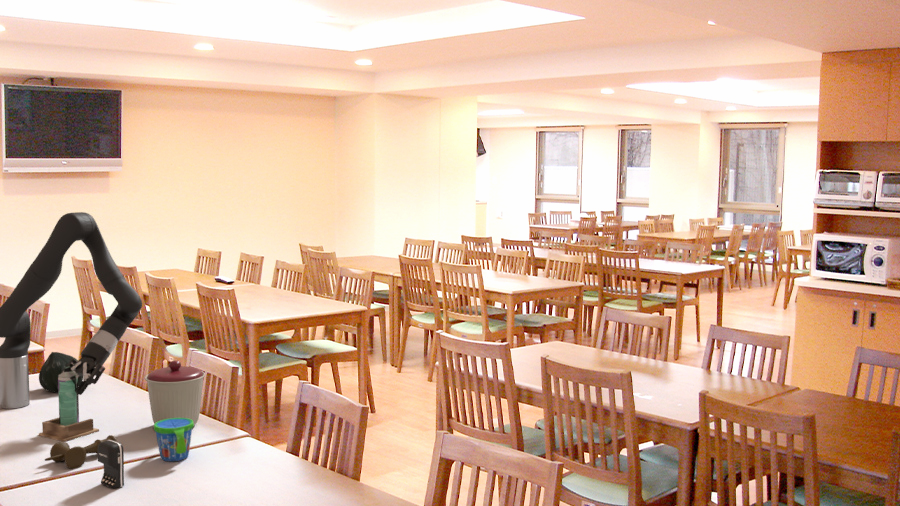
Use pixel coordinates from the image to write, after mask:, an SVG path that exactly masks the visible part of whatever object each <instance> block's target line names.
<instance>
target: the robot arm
mask: <svg viewBox="0 0 900 506" xmlns="http://www.w3.org/2000/svg"><path fill="white" fill-rule="evenodd" d="M79 241H81V242H82V243H83V244H84V245H85V246H86V248H87V249H88V252H89V253H90V256H91V259H92V265H93V269H94V273H95V275H96V277H97V279H98V281H99V283H100V284H101V285H102V287H103V289H104V290H105V292H106V293H108V295H110V296H112V297H113V298H114V300H115V301H116V302H117V304H116V306H115V308H114V310H112V313H111V314H110V316H109V317H108V318H106V320H105V321H104V322H103V323H102V325H101V326H100V328H99V329H98V330H97V331H96V333H94V334H93V336H92V337H91V339H90V340H89V341H88V342H87V344H86V345H85V347H84V348H83V349H82V351H81V352H80V356H81V358H79V360H78V361H76V360H75V359H74V358H75V357H74V358H73V359H71V361H70V362H69V363H68V364H67V366H70V367H71V369H72V370H73V372H75V373H77V374H78V375H77V376H78V377H79V376H83V381H82V382H81V383H80V385H79V386H78V387H77V389H76V390H75V392H76V393H77V394H78V396H81V395H83V393H84V392H85V391H86V390H87V388H88V387H89V386H91V385H92V384H93V385H95V384H97V382H99V379H100V378H101V376H102V375H103V373H104V371H105V370H106V367H105V366H104V364H105V363H106V361H107V360H108V358H109V357H110V356H111V354H112V352H113V351H114V350H115V348H116V347H117V344H118V343H119V341H120V340H121V339H122V337H123V336H124V334H125V333H126V330H127V328H129V326H130V325H132V323H133V322H134V321H135V319H136V318H137V316H138V315H139V313H140V311H141V310H142V308H143V300H142V298H141V296H140V295H139V293H138V292H137V291H136V290H135V288H133V286H132V285H131V284H130V283H129V282H128V281H127V280H126V278H125V276H124V275H123V273H122V272H121V270H120V268H119V267H118V265H117V264H116V261H114V259H113V257H112V255H111V253H110V250H109V248H108V246H107V244H106V242H105V240H104V237H103V235H102V232H101V230H100V227H99V225H98V224H97V222H96V219H94V217H93V216H92V215H91V214H90V213H88V212H84V211H83V212H82V211H81V212H69V213H68V212H66V213H65V214H63V215H62V216H61V217H59V219H58V220H57V222H56V224H55V225H54V228H53V229H52V232H51V233H50V235H49V238H48V239H47V241H46V243H45V244H44V246H43V247H42V249H40V251H39V252H38V255H37V256H36V257H35V259H34V260H33V261H32V263H30V265H29V267H28V268H27V270H26V272H25V273H24V275H23V276H22V278H21V279H20V281H19V282H18V283H17V285H16V286H15V288H14V290H13V291H12V292H11V294H10V295H9V296H8V298H7V299H6V300H5V301H4V302H3V303H2V305H0V338H3V339H4V341H3V342H2V344H0V409H8V410H9V409H18V408H22V407H23V408H24V407H26V406H28V405H31V404H30V403H31V402H30V375H29V374H30V372H29V369H30V368H29V348H30V345H31V319H30V315H29V313H28V311H27V310H28V309H29V308H30V307H32V306H33V305H34V304H35V303H36V302H38V301H39V300H40V299H41V298H42V297H44V296H45V295H46V294H47V293H48V292H49V291H50V290H51V289H52V288H53V286H54V285H55V283H56V282H57V281H58V278H59V277H60V276H61V273H62V269H63V261H64V256H65V255H66V254H67V252H68V251H69V249H70V248H71V246H72V245H74V243H76V242H79ZM67 366H66V367H67ZM75 369H76V370H75ZM64 370H65V368H64ZM64 370H63V371H64ZM74 370H75V371H74ZM63 371H62V372H61V373H63ZM57 388H58V386H57Z"/></svg>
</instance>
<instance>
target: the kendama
mask: <svg viewBox="0 0 900 506" xmlns="http://www.w3.org/2000/svg"><path fill="white" fill-rule="evenodd" d="M107 440H114V441H117V438H116V437H115V435H112V434H111V435H108V436H107V437H106V438H105V439H96V440H94V442H93V443H90V444H89V445H85V446H83V447H82V446H79V445H78V446H73V447H71V446H70V445H69V444H68V442H67V441H66V442H63V441H59V442H56V443H54V444H53V445H52V447H51V448H50V451H49V456H50V457H47V458H44V461H45V462H49V461H53V462H55V463H57V462H59V463H60V462H64V463H65V466H66V467H67V468H69V469H72V470H73V469H77V468H80V467H82V466H83V465H84V464H85V462H86V460H87V454H97V451H98V445H99V444H100V443H101V442H104V441H107ZM117 442H118V441H117Z"/></svg>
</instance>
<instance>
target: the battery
mask: <svg viewBox="0 0 900 506" xmlns="http://www.w3.org/2000/svg"><path fill="white" fill-rule="evenodd" d="M124 454H125V453H124V447H123V444H122V443H121V442H119V441H114V440H107V441H104V442H101V443H100V444H99V445H98V451H97V453H96V455H97V456H96V457H97V462H98V463H101V464H103V474H102V478H101V481H100V484H101V485H102V486H105V487H107V488H109V489H117V488H122V487H124V486H125V480H124V479H125V475H124V474H125V473H124V472H125V468H124V467H125V466H124V463H125V462H124V461H125V460H124V459H125V458H124V457H125V456H124Z"/></svg>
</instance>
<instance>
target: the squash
mask: <svg viewBox="0 0 900 506" xmlns="http://www.w3.org/2000/svg"><path fill="white" fill-rule="evenodd" d="M73 358H74V359H75V360H76V361H79V360H78V359H77V358H76V357H74V356H72V355H69V354H66V353H63V352H58V351H51V352H50V353H49V355H48V357H47V358H46V360H45V361H44V363H43V364H42V366H41V368H40V371H39V373H38V381H39V385H40V387H42V389H44V390H45V391H47V392H51V393H54V392H57V393H59V390H58V388H57V386H58V378H59V375H60V374H61V372H62V371H63V370H64V368H65V367H66V366H67V364H68V363H69V362H70V361H71V359H73ZM75 370H76V369H75ZM75 370H74V371H75ZM83 378H84V376H79V377H78V386H79V385H80V383H81V382H82V381H83Z"/></svg>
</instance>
